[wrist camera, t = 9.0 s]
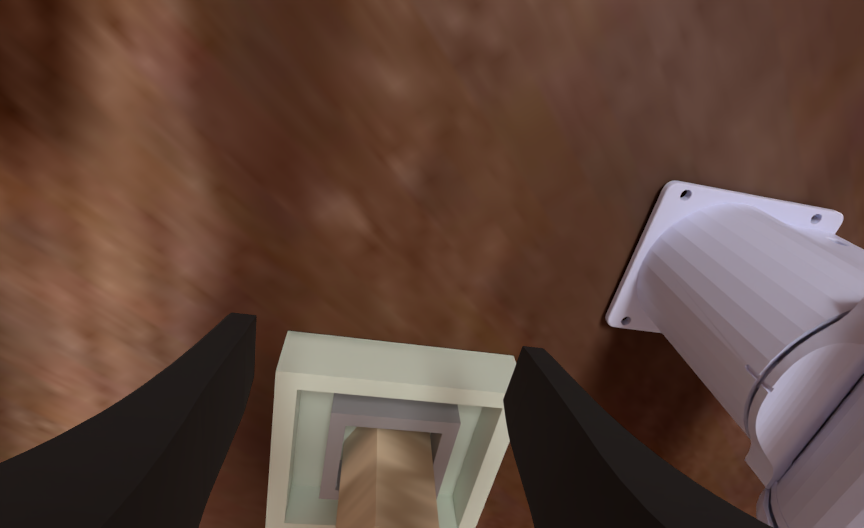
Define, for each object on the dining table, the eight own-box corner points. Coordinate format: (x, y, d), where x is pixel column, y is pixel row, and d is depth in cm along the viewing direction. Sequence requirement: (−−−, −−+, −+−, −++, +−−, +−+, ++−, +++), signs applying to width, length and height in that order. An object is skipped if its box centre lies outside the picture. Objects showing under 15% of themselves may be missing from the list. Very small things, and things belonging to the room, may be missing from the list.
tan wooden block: (429, 427, 27) (441, 549, 21) (394, 462, 29) (396, 588, 22) (378, 403, 26) (375, 525, 20) (343, 441, 27) (331, 568, 21)
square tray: (513, 355, 26) (527, 395, 24) (462, 497, 32) (469, 541, 29) (287, 330, 24) (275, 370, 22) (275, 486, 30) (265, 533, 27)
